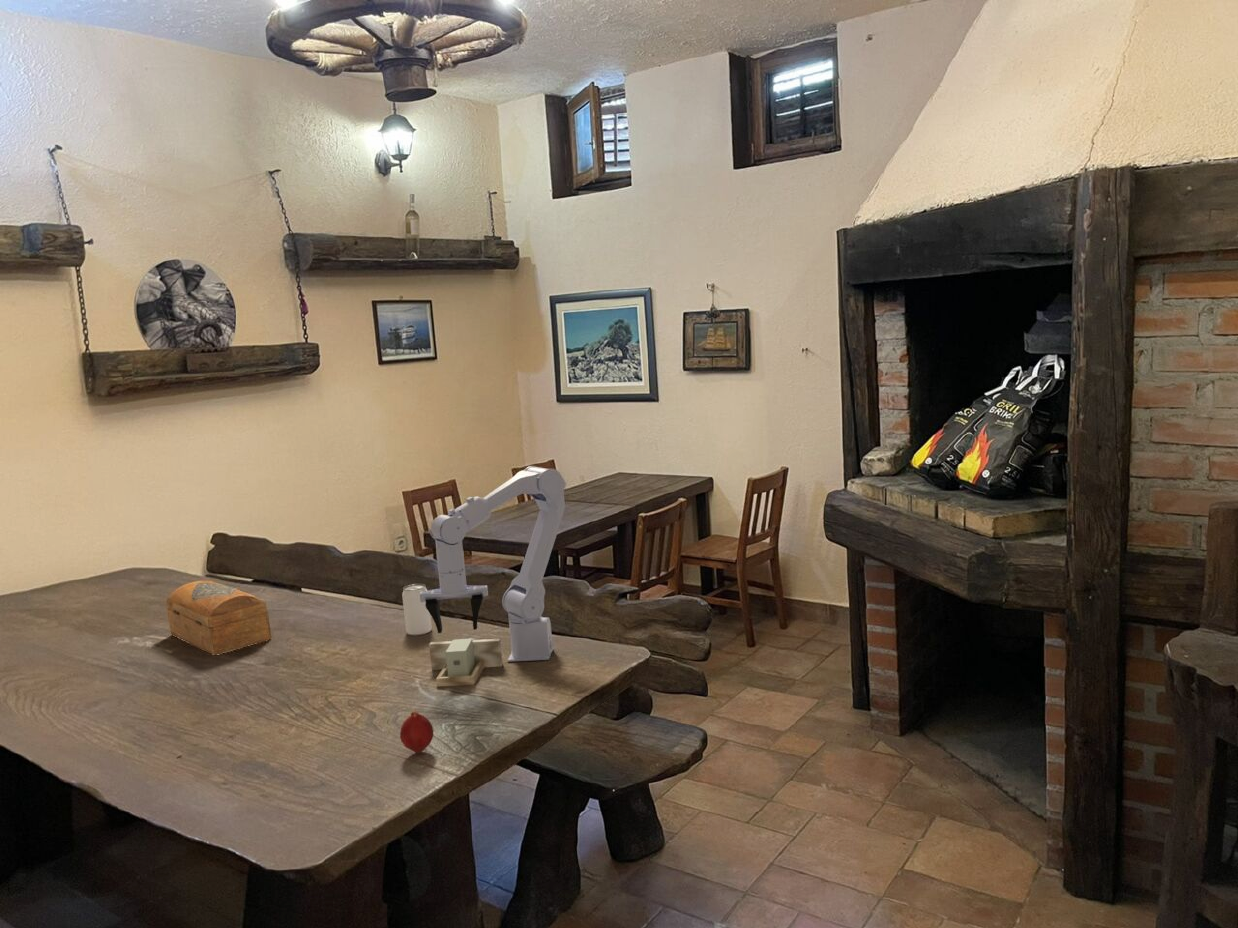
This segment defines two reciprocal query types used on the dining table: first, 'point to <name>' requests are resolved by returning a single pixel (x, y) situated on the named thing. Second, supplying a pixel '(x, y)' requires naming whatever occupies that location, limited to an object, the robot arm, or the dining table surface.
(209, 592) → the wooden box
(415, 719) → the onion
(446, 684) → the wall board
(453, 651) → the cabinet block
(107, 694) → the dining table surface
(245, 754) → the dining table surface
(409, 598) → the can
